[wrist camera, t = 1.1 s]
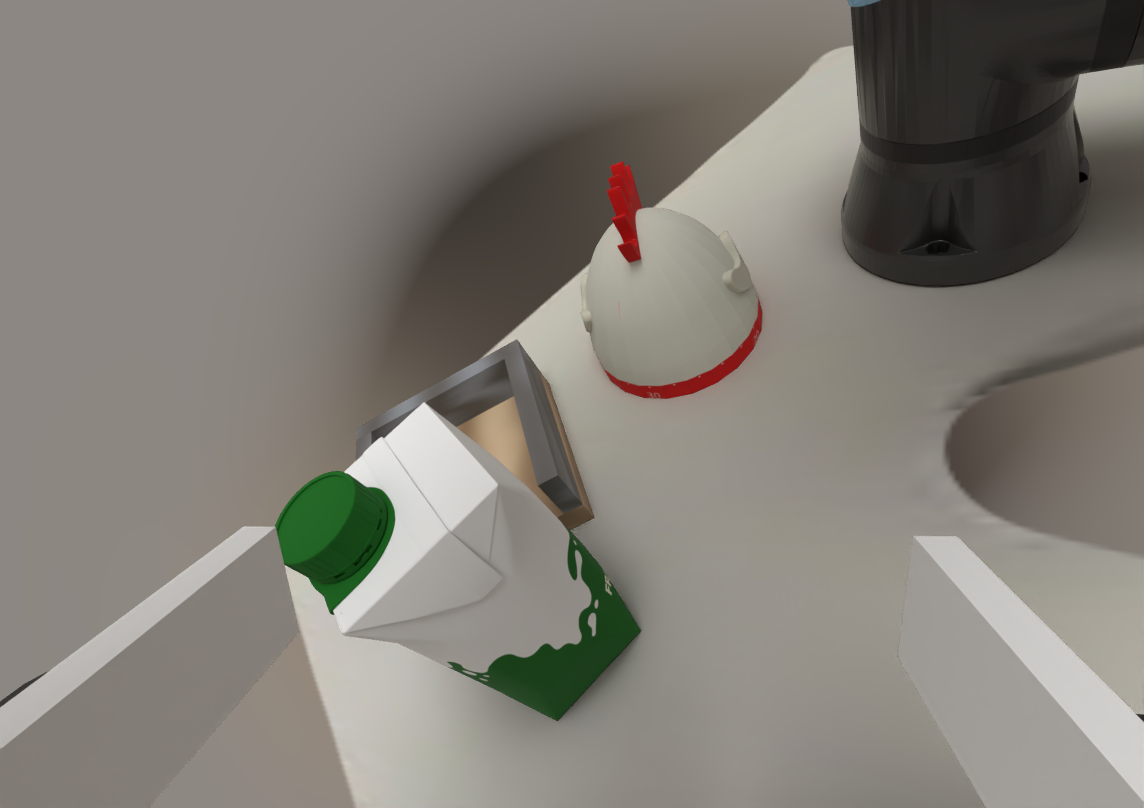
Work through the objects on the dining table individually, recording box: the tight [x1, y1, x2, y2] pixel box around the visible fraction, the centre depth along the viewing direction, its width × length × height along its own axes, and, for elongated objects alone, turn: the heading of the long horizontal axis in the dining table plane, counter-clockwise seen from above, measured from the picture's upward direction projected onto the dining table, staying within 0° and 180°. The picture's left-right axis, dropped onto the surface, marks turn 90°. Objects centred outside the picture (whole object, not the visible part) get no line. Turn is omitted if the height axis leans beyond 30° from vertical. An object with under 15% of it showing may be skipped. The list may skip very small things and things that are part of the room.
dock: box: [356, 340, 594, 530], centre depth 45 cm, size 16×15×6 cm
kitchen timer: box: [580, 162, 762, 399], centre depth 43 cm, size 14×14×15 cm
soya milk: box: [275, 402, 641, 721], centre depth 29 cm, size 9×9×20 cm
